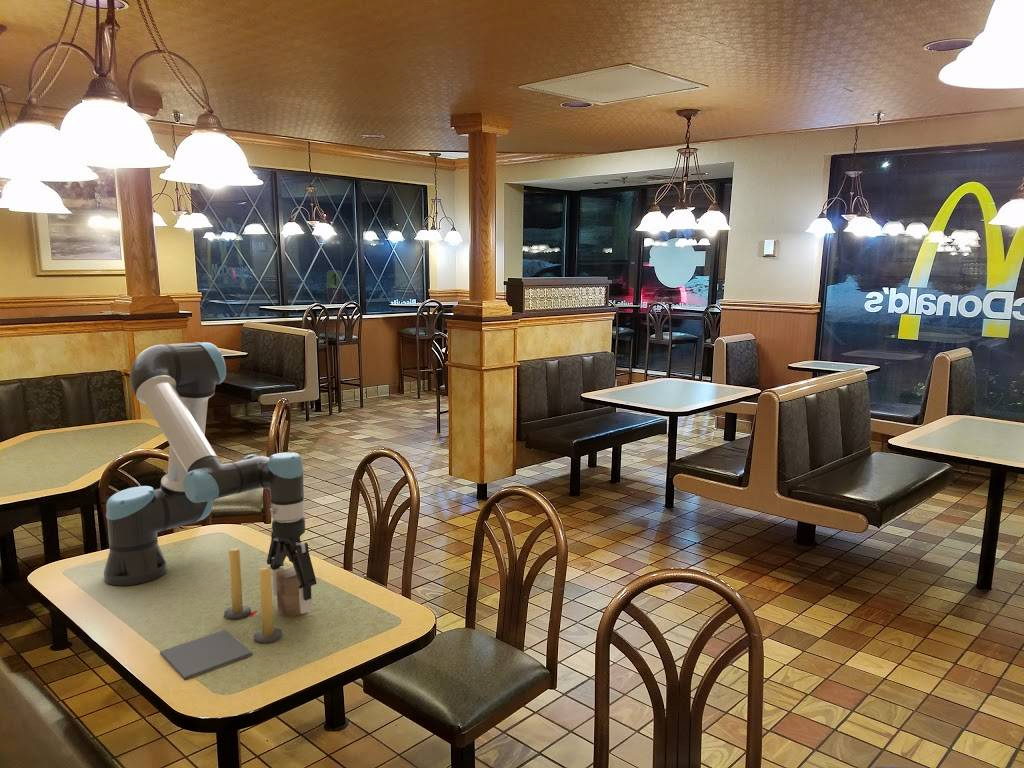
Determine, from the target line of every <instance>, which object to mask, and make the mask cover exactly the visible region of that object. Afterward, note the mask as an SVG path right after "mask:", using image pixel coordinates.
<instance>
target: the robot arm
mask: <svg viewBox="0 0 1024 768" xmlns="http://www.w3.org/2000/svg"><path fill="white" fill-rule="evenodd" d="M226 376H227V365H226V362H225V358H224V355H223V353H222V351H220V348H219V347H217V346H216V345H215V344H213V343H211V342H205V341H202V342H199V341H194V342H186V343H185V342H184V343H170V344H155V345H152V346H149V347H148V348H146V349H144V350H142V351H141V352H140V353H139V354H138V355H137V356H136V357H135V359H134V361H133V363H132V364H131V369H130V372H129V383H130V387H131V389H132V392H133V395H135V397H136V399H137V401H138V402H139V403H141V404H145V406H146V407H147V409H148V411H149V412H150V414H151V415H152V417H153V419H154V420H155V422H156V424H157V425H158V428H160V430H161V432H162V433H163V435H164V437H165V438H166V441H167V442H168V444H169V452H168V464H167V466H168V467H167V474H165V475H163V477H161V480H160V487H159V488H156V489H154V487H152V486H149V485H139V486H133V487H128V488H126V489H122V490H120V491H118V492H116V493H114V494H112V495H111V496H110V497H109V498H108V499H107V502H106V512H105V517H106V521H107V522H106V523H107V524H106V525H107V533H108V535H107V536H108V545H109V546H108V547H109V548H108V549H109V552H108V556H107V558H106V563H105V567H104V570H103V580H104V582H105V583H106V584H108V585H112V586H118V587H119V586H121V587H122V586H133V585H138V584H139V585H140V584H144V583H147V582H151V581H154V580H156V579H159V578H160V577H162V576H163V575H165V573H167V569H168V567H167V566H168V565H167V560H166V559H165V556H164V554H163V552H162V550H161V547H160V545H159V541H158V533H160V532H164V531H167V530H170V529H174V528H178V527H181V526H185V525H192V524H195V523H197V522H199V521H203V520H204V519H206V518H207V517H208V516H209V515H210V514H211V512H212V510H213V505H214V501H215V500H217V499H222V498H225V497H229V496H232V495H237V494H242V493H246V492H250V491H254V490H258V489H263V490H267V491H269V492H270V506H271V508H269V511H270V513H271V518H272V521H271V531H272V532H271V540H270V545H269V549H268V553H267V559H266V564H267V565H269V566H270V568H271V581H272V596H274V597H277V583H276V572H278V571H282V570H285V568H284V566H285V564H284V562H285V559H286V558H288V561H289V562H291V563H292V566H293V567H294V569H295V571H296V574H297V576H298V579H299V582H300V584H301V585H300V586H299V587H298V588H299V601H300V613H301V614H302V615H303V614H305V613H308V612H311V611H313V602H312V599H313V598H312V586H316V585H317V583H318V582H317V579H316V575H315V571H314V568H313V564H312V560H311V556H310V553H309V552H310V551H309V544H308V542H303V543H302V541H301V537H302V535H304V533H305V531H306V519H305V517H304V516H305V514H306V513H305V510H306V509H305V497H304V496H305V492H304V491H305V490H304V468H303V459H302V456H301V455H300V454H299V453H297V452H294V451H293V452H289V451H285V452H278V453H274V454H272V455H270V456H269V457H268V456H265V455H262V454H252V453H251V454H248V455H245V456H244V457H243V458H242V459H241V460H237V461H233V462H228V463H222V461H221V459H220V458H219V457H218V455H217V453H216V452H215V450H214V449H213V447H212V445H211V444H210V442H209V440H208V439H207V438H206V436H205V435H206V434H205V433H206V424H207V416H208V415H207V413H208V404H209V403H208V402H209V399H210V398H212V397H213V396H214V395H215V393H216V392H215V391H216V385H221V384H222V383H223V382H224V381H225V379H226ZM301 614H300V615H301Z"/></svg>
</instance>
